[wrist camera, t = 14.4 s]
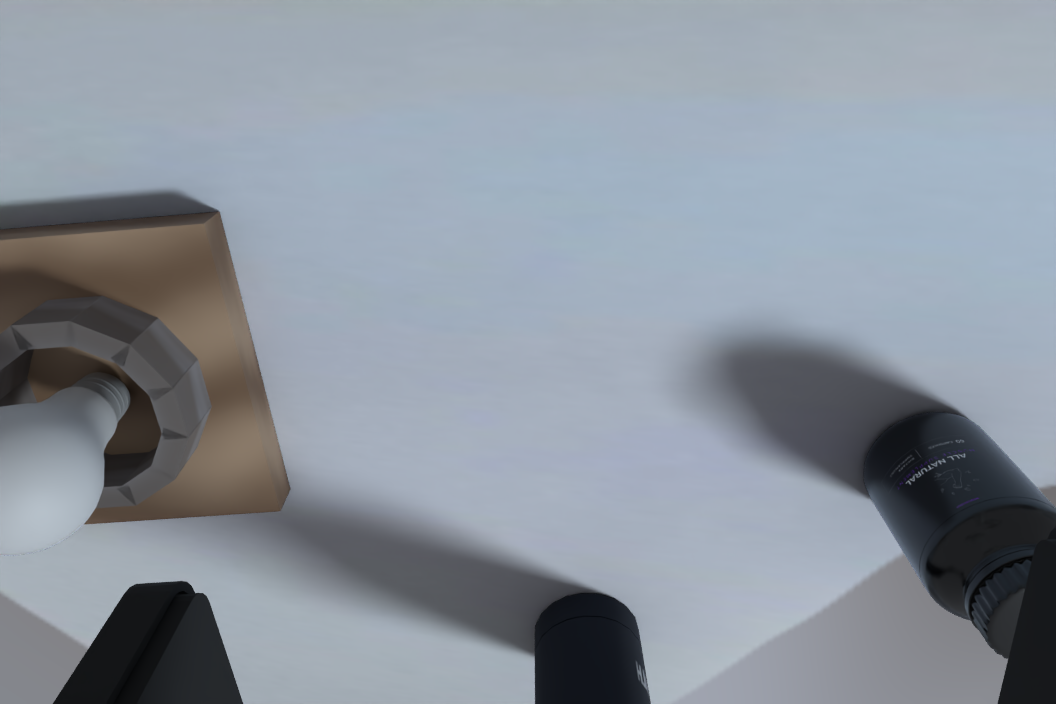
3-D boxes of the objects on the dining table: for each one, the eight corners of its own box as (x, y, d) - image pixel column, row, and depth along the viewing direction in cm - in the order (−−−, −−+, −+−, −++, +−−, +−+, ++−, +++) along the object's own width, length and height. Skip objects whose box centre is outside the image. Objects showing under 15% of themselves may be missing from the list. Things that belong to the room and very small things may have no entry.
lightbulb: (55, 430, 41) (-98, 578, 31) (43, 322, 38) (-128, 446, 28) (176, 446, 41) (64, 598, 31) (172, 341, 39) (48, 469, 29)
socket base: (-66, 234, 39) (-145, 269, 34) (219, 211, 38) (177, 244, 34) (47, 505, 45) (-6, 565, 41) (290, 489, 45) (263, 547, 40)
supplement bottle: (899, 391, 42) (1026, 537, 31) (1010, 428, 43) (1171, 582, 32) (835, 492, 45) (932, 659, 34) (941, 525, 46) (1068, 697, 35)
